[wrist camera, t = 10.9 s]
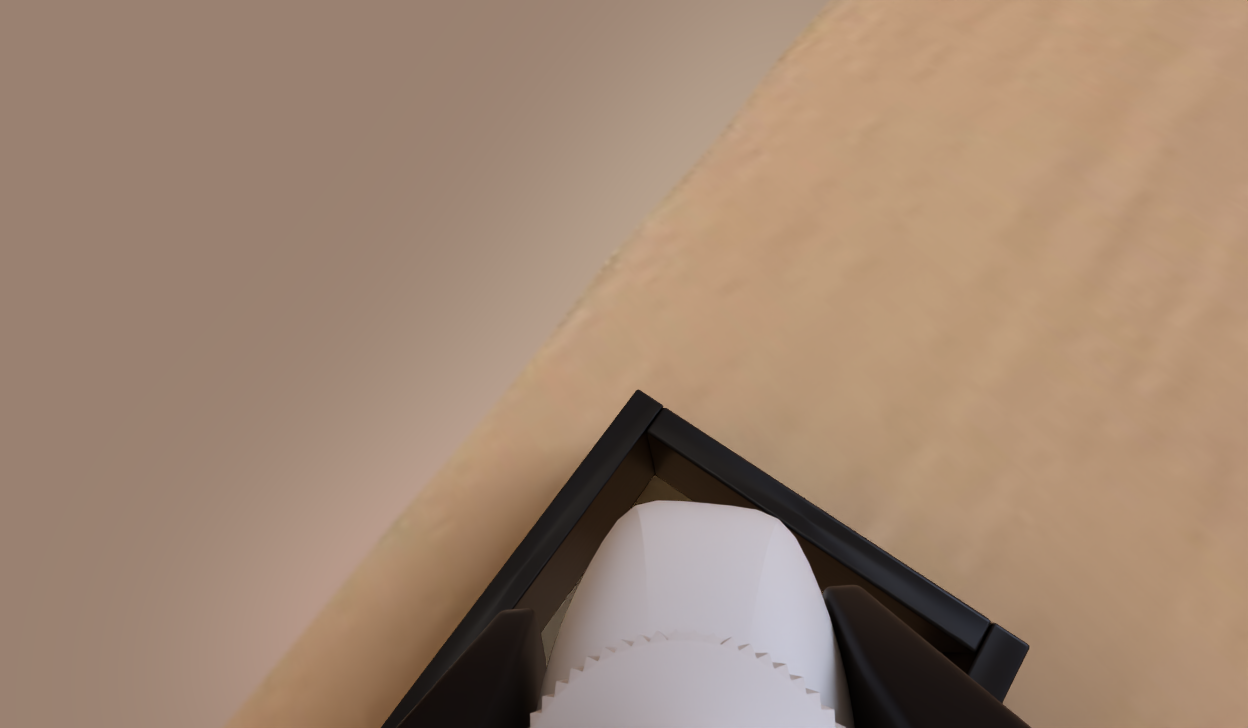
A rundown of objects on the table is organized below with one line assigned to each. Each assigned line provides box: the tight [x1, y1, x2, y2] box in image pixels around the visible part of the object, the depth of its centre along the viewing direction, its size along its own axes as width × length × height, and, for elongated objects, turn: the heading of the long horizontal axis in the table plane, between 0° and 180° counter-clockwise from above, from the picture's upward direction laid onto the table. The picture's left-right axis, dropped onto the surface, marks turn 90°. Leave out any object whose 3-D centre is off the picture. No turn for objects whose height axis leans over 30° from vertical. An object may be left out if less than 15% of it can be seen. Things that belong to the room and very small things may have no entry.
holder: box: [381, 390, 1029, 728], centre depth 16 cm, size 10×10×4 cm
